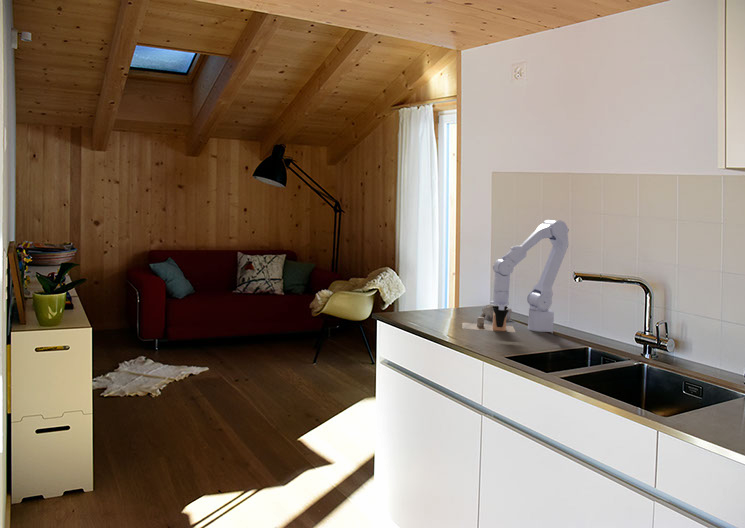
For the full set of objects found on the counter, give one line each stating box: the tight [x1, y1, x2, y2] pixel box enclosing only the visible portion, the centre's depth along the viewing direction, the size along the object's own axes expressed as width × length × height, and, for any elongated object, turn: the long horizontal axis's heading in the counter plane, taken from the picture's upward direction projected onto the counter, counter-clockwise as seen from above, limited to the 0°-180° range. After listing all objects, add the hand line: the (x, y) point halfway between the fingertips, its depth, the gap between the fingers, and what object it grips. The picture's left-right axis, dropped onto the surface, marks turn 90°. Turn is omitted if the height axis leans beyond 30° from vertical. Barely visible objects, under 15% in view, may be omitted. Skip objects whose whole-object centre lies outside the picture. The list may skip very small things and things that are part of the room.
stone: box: [479, 304, 513, 321], centre depth 270 cm, size 8×12×7 cm, turn 104°
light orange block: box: [491, 312, 507, 332], centre depth 247 cm, size 5×5×6 cm
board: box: [461, 316, 516, 333], centre depth 250 cm, size 20×12×4 cm, turn 82°
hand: (499, 325), depth 248 cm, fingers open, 5 cm apart
